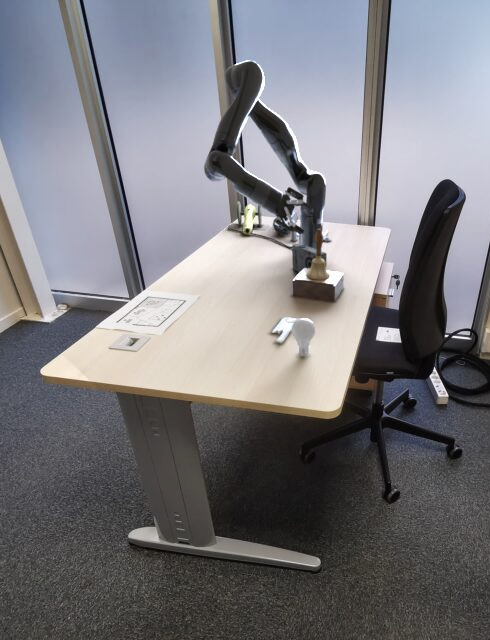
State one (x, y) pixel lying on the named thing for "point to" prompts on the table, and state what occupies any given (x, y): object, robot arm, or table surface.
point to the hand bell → (318, 261)
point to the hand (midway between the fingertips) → (307, 221)
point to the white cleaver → (284, 328)
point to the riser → (318, 286)
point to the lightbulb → (303, 334)
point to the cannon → (248, 217)
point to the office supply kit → (293, 233)
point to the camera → (304, 256)
